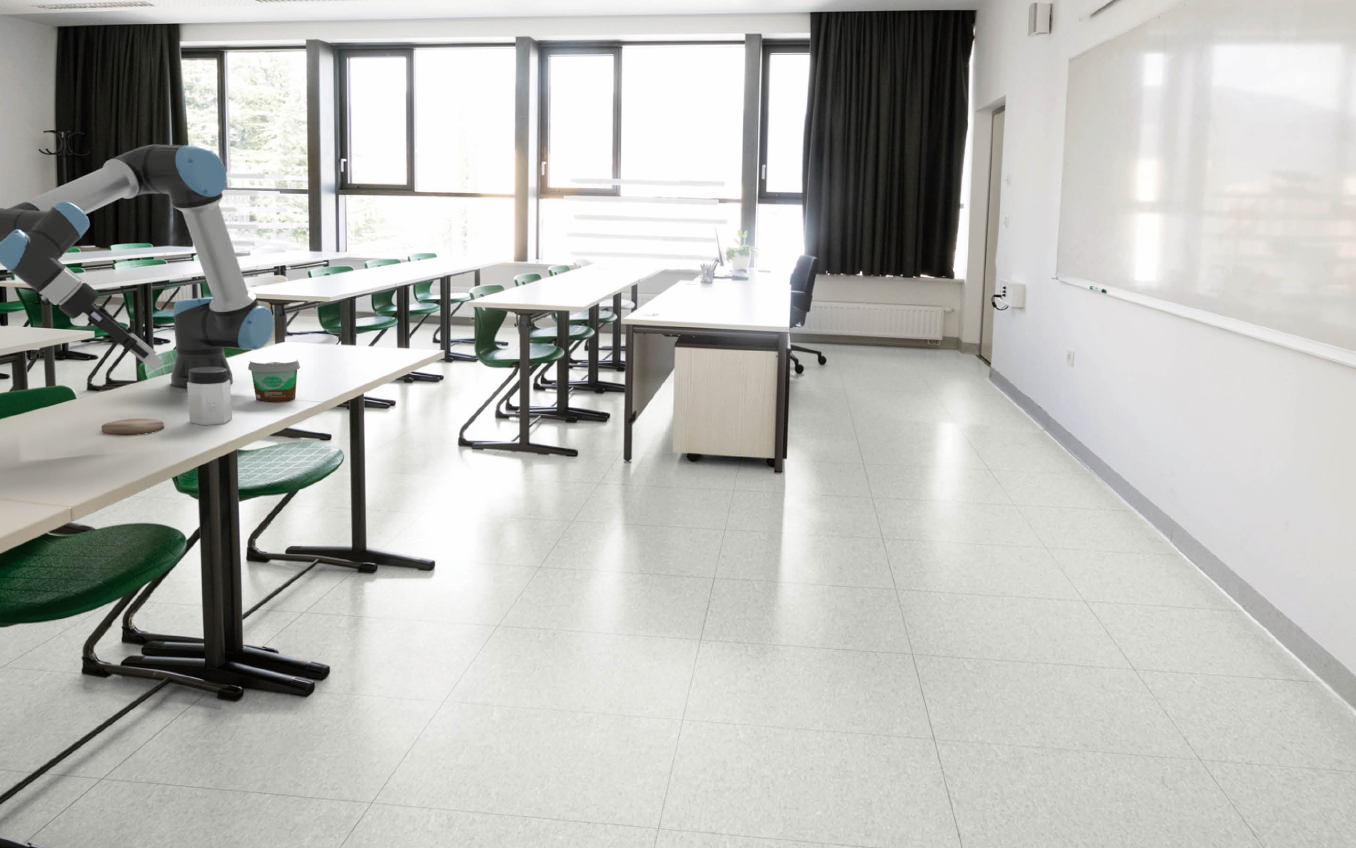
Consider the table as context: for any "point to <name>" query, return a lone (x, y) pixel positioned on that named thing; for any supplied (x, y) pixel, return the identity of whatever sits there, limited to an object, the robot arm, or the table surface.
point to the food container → (274, 381)
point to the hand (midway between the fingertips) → (155, 361)
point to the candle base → (132, 426)
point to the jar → (209, 396)
